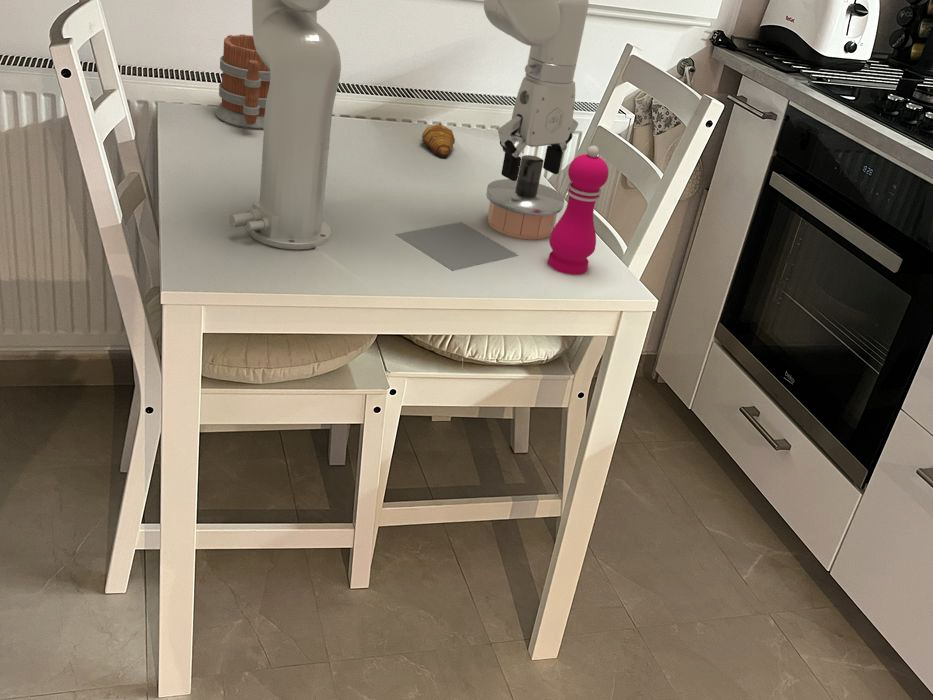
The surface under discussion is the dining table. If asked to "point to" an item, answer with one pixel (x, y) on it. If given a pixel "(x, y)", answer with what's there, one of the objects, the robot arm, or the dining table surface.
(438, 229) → the mat
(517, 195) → the lid
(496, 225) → the bowl
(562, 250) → the pepper mill
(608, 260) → the dining table surface
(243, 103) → the mug
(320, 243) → the robot arm
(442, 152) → the croissant
